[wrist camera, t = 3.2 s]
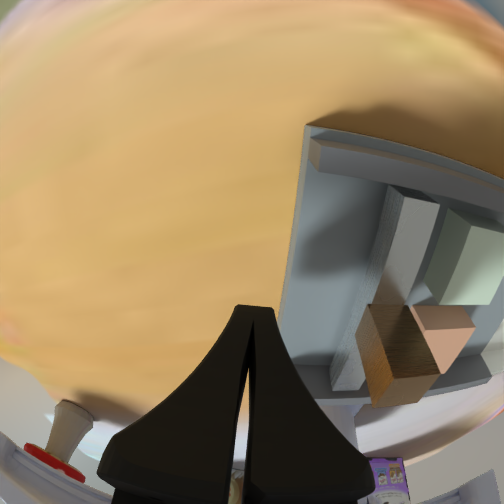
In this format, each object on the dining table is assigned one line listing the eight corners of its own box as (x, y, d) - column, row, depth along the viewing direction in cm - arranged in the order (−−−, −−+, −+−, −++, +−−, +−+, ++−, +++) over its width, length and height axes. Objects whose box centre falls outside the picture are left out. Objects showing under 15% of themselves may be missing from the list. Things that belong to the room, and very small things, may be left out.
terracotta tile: (434, 351, 15) (444, 373, 13) (386, 354, 15) (394, 379, 13) (461, 305, 13) (476, 327, 11) (412, 305, 13) (425, 330, 11)
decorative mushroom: (85, 400, 26) (46, 495, 13) (116, 432, 30) (89, 514, 17) (39, 386, 27) (1, 463, 14) (70, 418, 31) (41, 488, 18)
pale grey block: (356, 368, 15) (372, 447, 10) (325, 368, 15) (335, 451, 10) (424, 191, 10) (507, 258, 5) (383, 183, 10) (461, 250, 5)
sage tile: (472, 283, 12) (489, 304, 10) (422, 280, 12) (438, 304, 11) (497, 220, 10) (519, 237, 9) (448, 207, 10) (471, 225, 9)
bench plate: (464, 347, 18) (484, 386, 14) (272, 351, 18) (270, 407, 14) (533, 193, 11) (575, 221, 7) (304, 124, 11) (323, 132, 7)
